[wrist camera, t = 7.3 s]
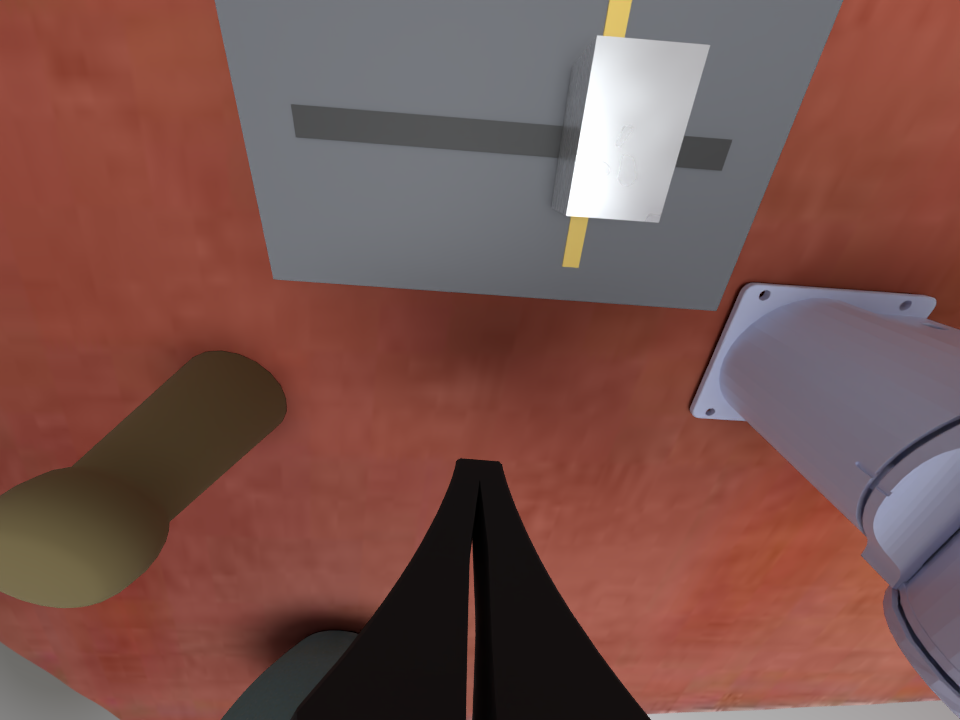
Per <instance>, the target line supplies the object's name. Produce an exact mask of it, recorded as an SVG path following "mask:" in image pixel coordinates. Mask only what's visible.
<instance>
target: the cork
mask: <svg viewBox="0 0 960 720" xmlns="http://www.w3.org/2000/svg"><path fill="white" fill-rule="evenodd" d="M285 414H286V398H285V395H284V393H283V391H282V388H281V386H280V385H279V383H278V382H277V381H276V380H275V378H274V377H273V376H272V375H271V373H270V372H268V371H267V370H266V369H264V368H263V367H262V366H260V365H259V364H258V363H257V362H255V361H253V360H250V359H248V358H246V357H244V356H242V355H240V354H235V353H230V352H225V351H211V352H204V353H202V354H200V355H197V356H195V357H193V358H192V359H190V360H189V361H188V362H187V363H186V364H185V365H184V366H183V367H182V368H180V369H179V370H178V371H177V372H176V373H175V374H174V375H173V376H172V377H170V378H169V379H168V380H167V381H166V382H165V383H164V384H163V385H162V386H161V387H159V388H158V389H157V390H156V391H155V392H154V393H153V394H152V395H151V396H149V397H148V398H147V399H146V400H145V401H144V402H143V403H142V404H141V405H139V406H138V407H137V408H136V409H135V410H134V411H133V412H132V413H131V414H129V415H128V416H127V417H126V418H125V419H124V420H123V421H122V422H121V423H119V424H118V425H117V426H116V427H115V428H114V429H113V430H112V431H111V432H109V433H108V434H107V435H106V436H105V437H104V438H103V439H102V440H101V441H100V442H98V443H97V444H96V445H95V446H94V447H93V448H92V449H91V450H90V451H88V452H87V453H86V454H85V455H84V456H83V457H82V458H81V459H80V460H78V461H77V462H76V463H75V464H74V465H73V466H72V467H68V468H62V469H56V470H52V471H49V472H47V473H44V474H42V475H39V476H37V477H35V478H32V479H30V480H28V481H26V482H23V483H21V484H19V485H17V486H15V487H13V488H11V489H10V490H8V491H7V492H5V493H4V494H2V495H1V496H0V591H1V592H3V593H5V594H7V595H10V596H12V597H15V598H17V599H20V600H22V601H26V602H30V603H34V604H38V605H41V606H48V607H56V608H75V607H83V606H89V605H93V604H96V603H100V602H102V601H104V600H106V599H108V598H110V597H112V596H114V595H116V594H118V593H120V592H121V591H122V590H123V589H125V588H126V587H127V586H128V585H130V584H131V583H132V582H133V581H134V580H136V579H137V578H138V577H139V576H140V575H142V574H143V573H144V572H145V571H146V570H147V569H148V568H149V566H150V565H151V564H152V563H153V562H154V560H155V559H156V558H157V557H158V555H159V553H160V551H161V549H162V548H163V546H164V544H165V542H166V539H167V536H168V532H169V522H170V521H171V520H172V519H173V518H174V517H175V516H177V515H178V514H179V513H180V512H181V511H182V510H183V509H184V508H186V507H187V506H188V505H189V504H190V503H191V502H192V501H193V500H195V499H196V498H197V497H198V496H199V495H200V494H201V493H203V492H204V491H205V490H206V489H207V488H208V487H209V486H210V485H212V484H213V483H214V482H215V481H216V480H217V479H218V478H219V477H221V476H222V475H223V474H224V473H225V472H226V471H227V470H228V469H230V468H231V467H232V466H233V465H234V464H235V463H236V462H237V461H239V460H240V459H241V458H242V457H243V456H244V455H245V454H246V453H248V452H249V451H250V450H251V449H252V448H253V447H254V446H256V445H257V444H258V443H259V442H260V441H261V440H262V439H263V438H265V437H266V436H267V435H268V434H269V433H270V432H271V431H272V430H274V429H275V428H276V427H277V426H278V425H279V424H280V423H281V422H282V421H283V419H284V416H285Z"/></svg>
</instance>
